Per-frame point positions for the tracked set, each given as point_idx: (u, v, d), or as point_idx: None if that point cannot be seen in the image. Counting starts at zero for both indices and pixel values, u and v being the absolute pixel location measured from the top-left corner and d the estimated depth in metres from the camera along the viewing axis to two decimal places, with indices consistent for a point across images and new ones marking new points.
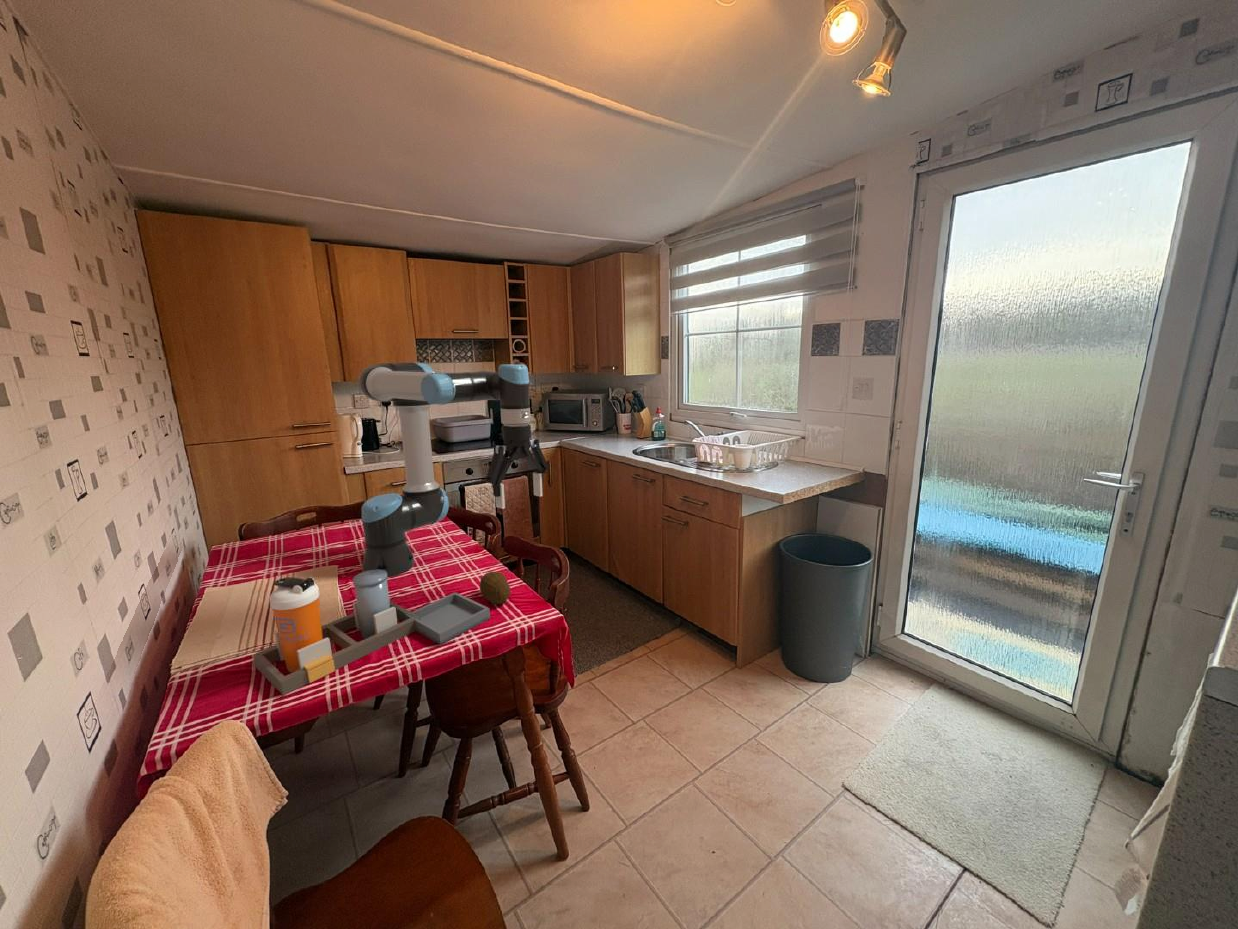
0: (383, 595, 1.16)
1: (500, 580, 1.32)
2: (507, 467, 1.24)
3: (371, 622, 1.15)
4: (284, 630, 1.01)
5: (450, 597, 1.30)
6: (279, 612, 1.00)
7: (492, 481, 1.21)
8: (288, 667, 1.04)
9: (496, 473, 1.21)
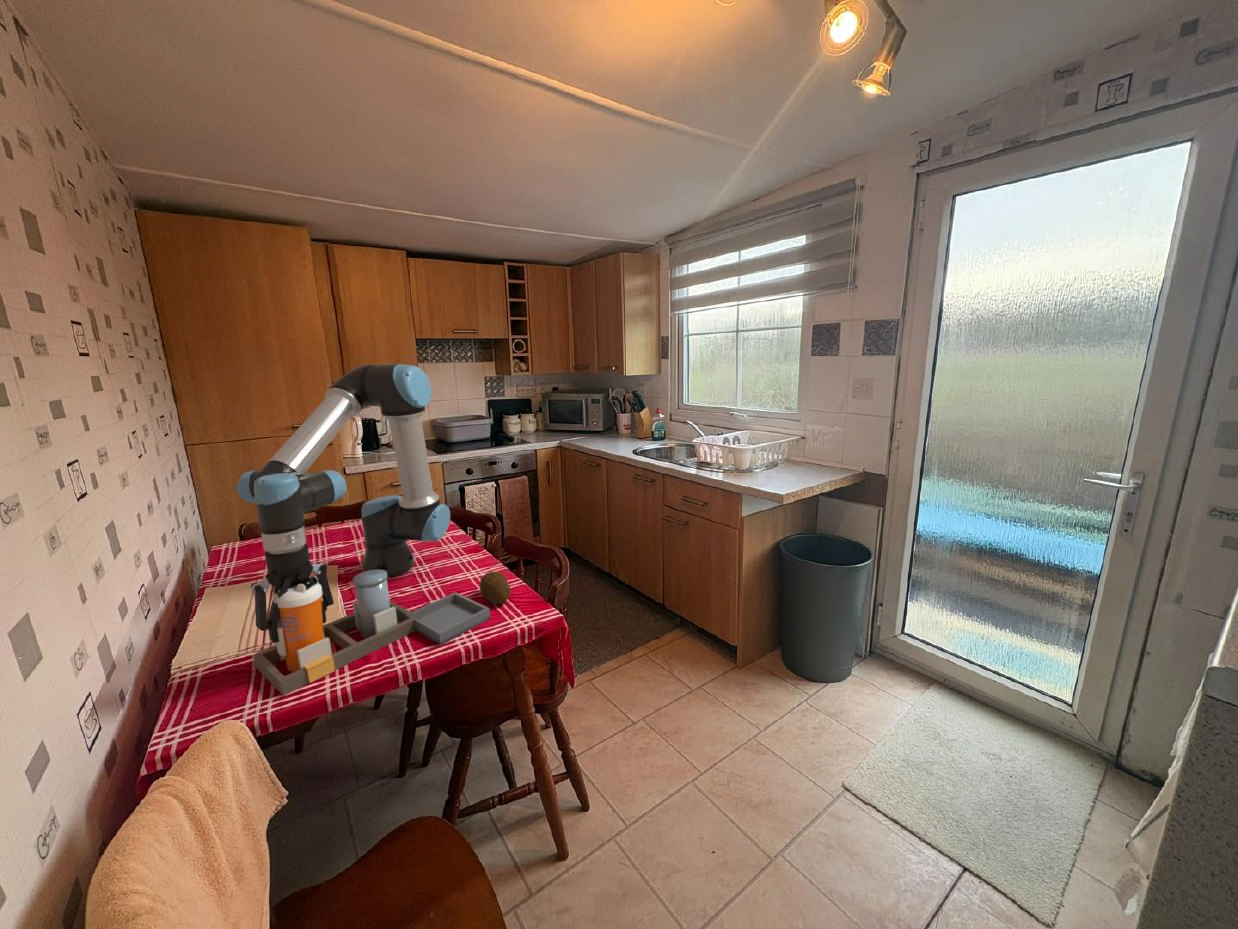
0: (383, 595, 1.16)
1: (500, 580, 1.32)
2: None
3: (371, 622, 1.15)
4: (286, 628, 1.01)
5: (450, 597, 1.30)
6: (282, 610, 1.00)
7: (261, 628, 0.98)
8: (288, 666, 1.04)
9: (264, 617, 0.98)
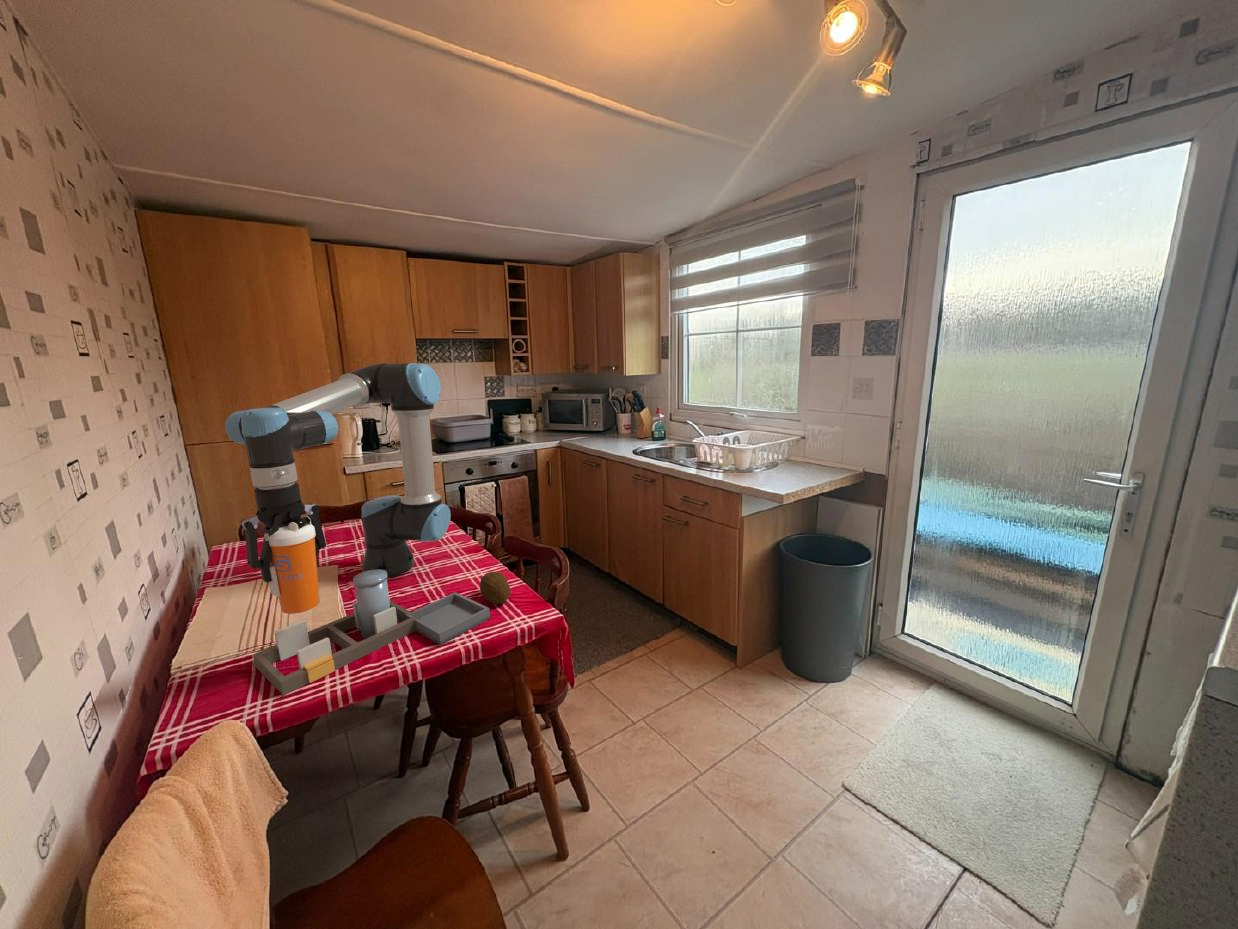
0: (383, 595, 1.16)
1: (500, 580, 1.32)
2: None
3: (371, 622, 1.15)
4: (279, 568, 0.98)
5: (450, 597, 1.30)
6: (274, 548, 0.97)
7: (253, 566, 0.95)
8: (282, 607, 1.01)
9: (255, 555, 0.95)
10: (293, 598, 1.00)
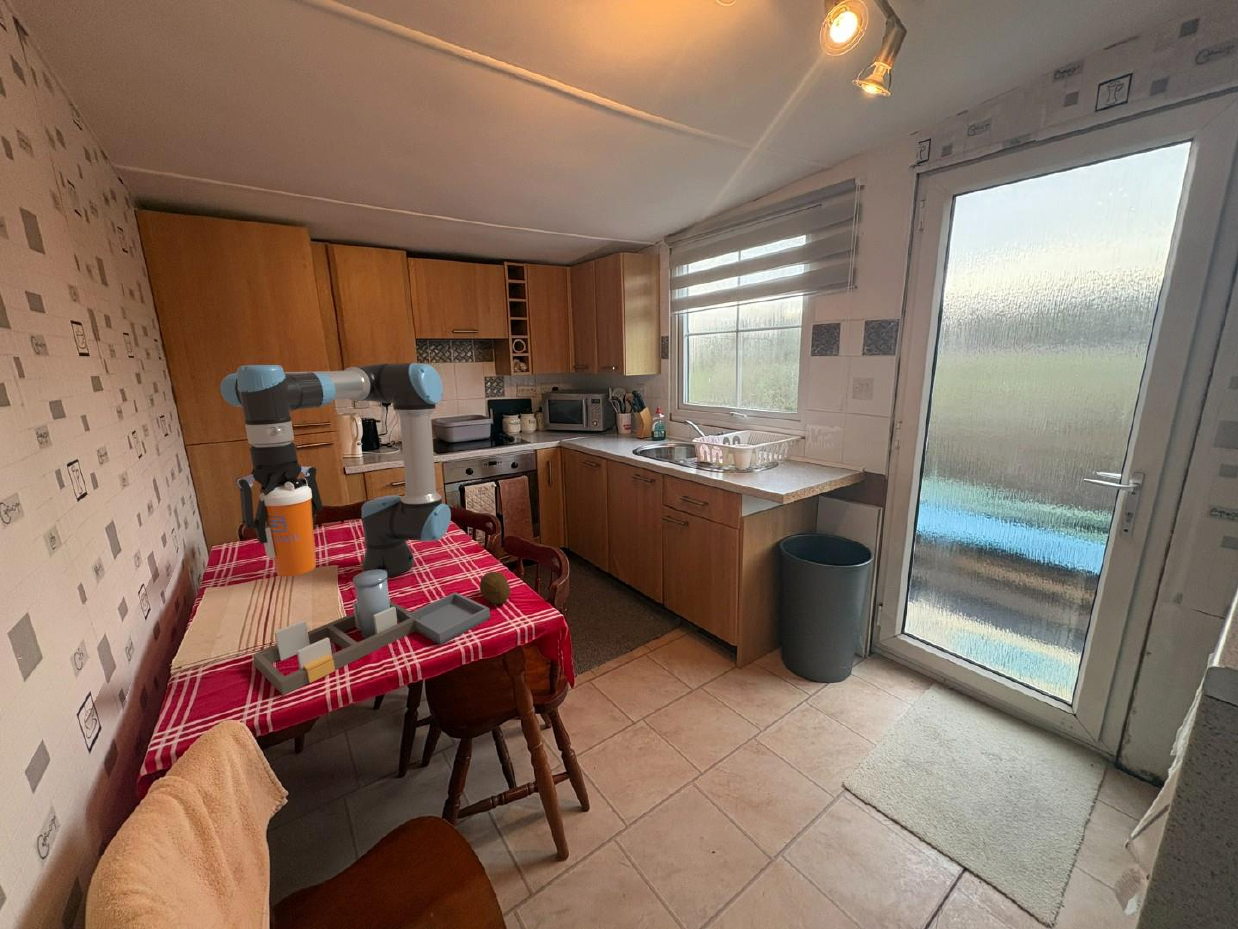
0: (383, 595, 1.16)
1: (500, 580, 1.32)
2: None
3: (371, 622, 1.15)
4: (274, 529, 0.97)
5: (450, 597, 1.30)
6: (269, 508, 0.96)
7: (248, 525, 0.94)
8: (277, 570, 0.99)
9: (250, 514, 0.94)
10: (289, 561, 0.99)
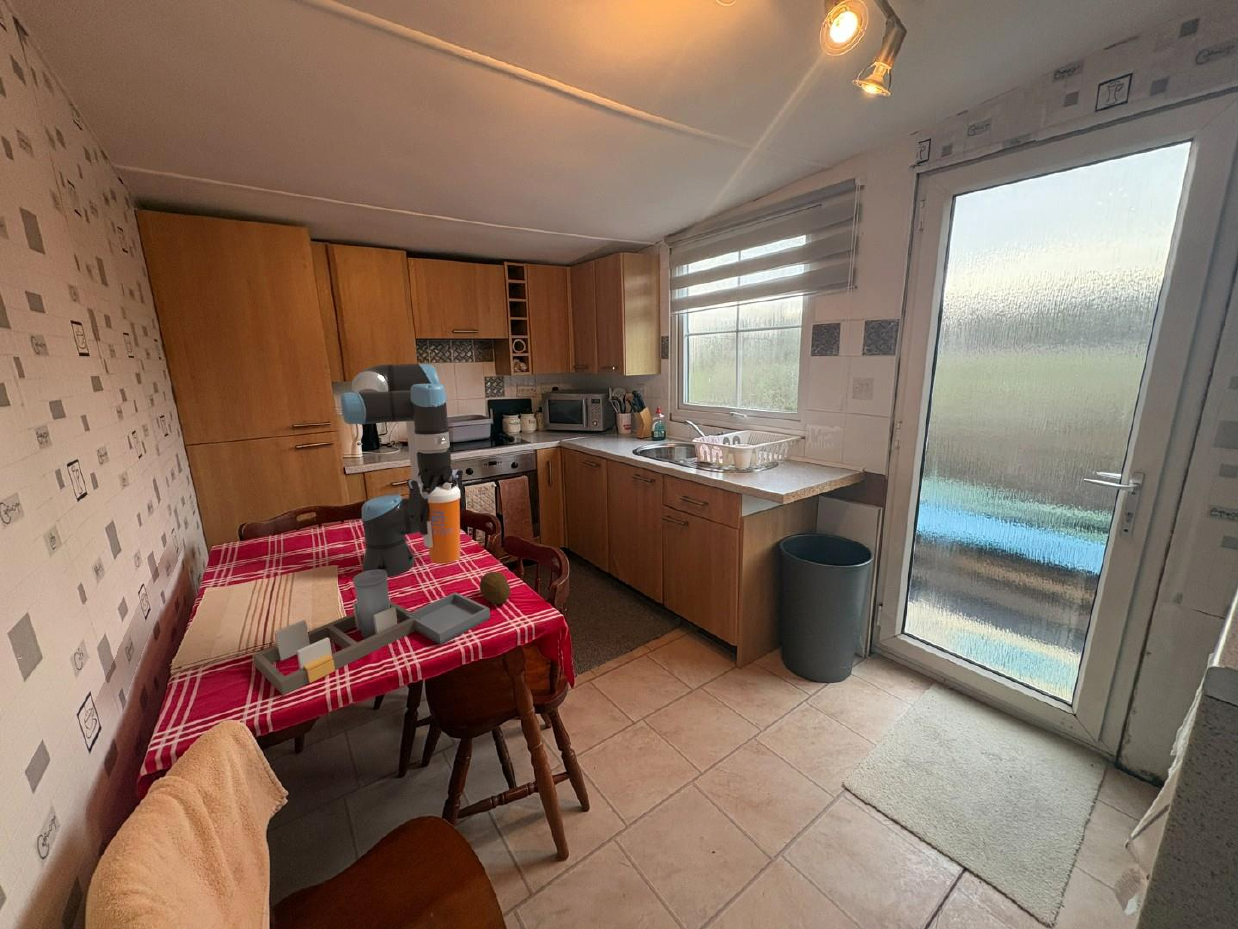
0: (383, 595, 1.16)
1: (500, 580, 1.32)
2: None
3: (371, 622, 1.15)
4: (434, 522, 1.14)
5: (450, 597, 1.30)
6: (431, 505, 1.13)
7: (416, 519, 1.11)
8: (433, 558, 1.16)
9: (418, 510, 1.11)
10: (444, 550, 1.16)
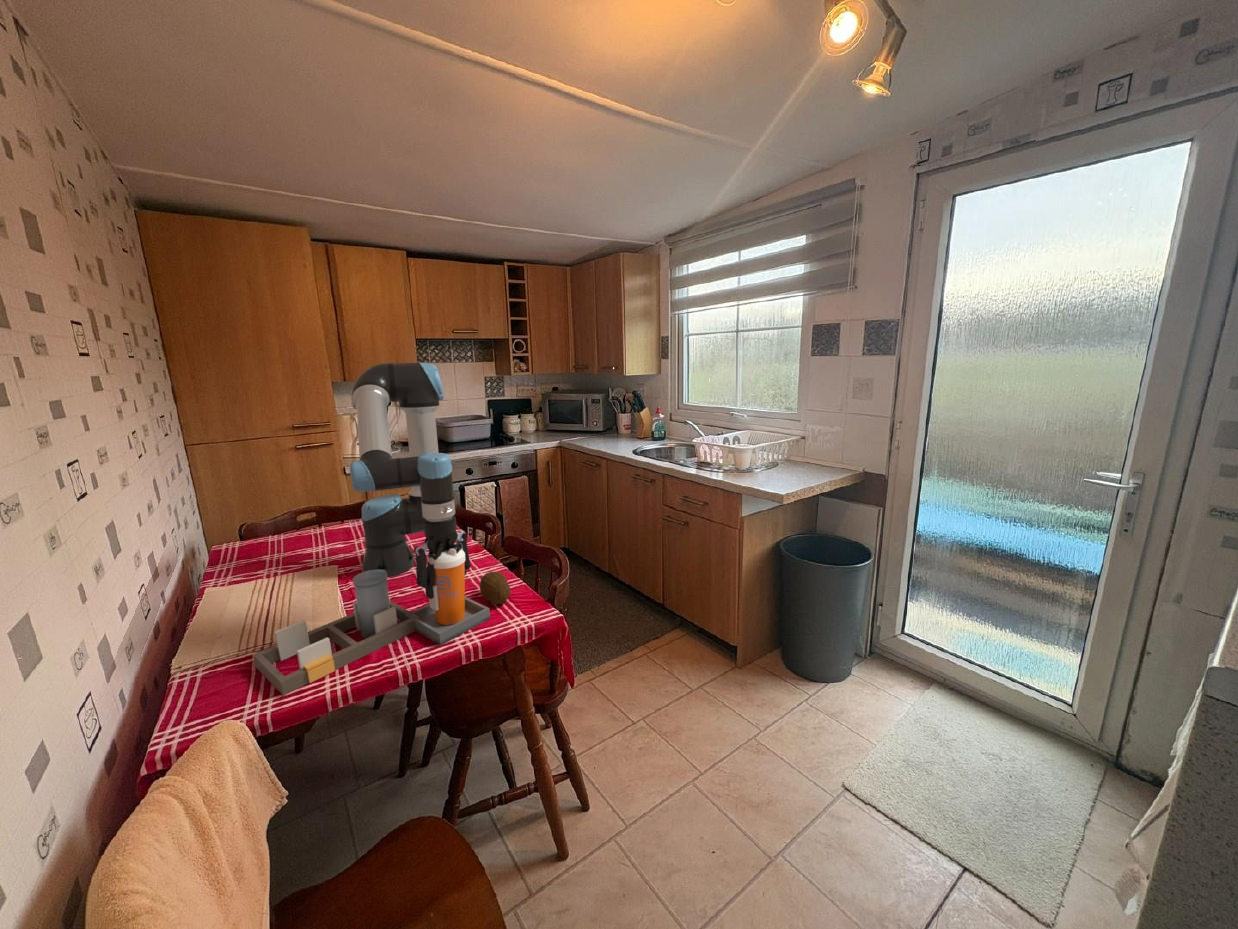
0: (383, 596, 1.16)
1: (500, 580, 1.32)
2: None
3: (371, 622, 1.15)
4: (440, 587, 1.17)
5: None
6: (437, 570, 1.16)
7: (423, 585, 1.14)
8: (439, 620, 1.20)
9: (425, 576, 1.14)
10: (449, 612, 1.19)
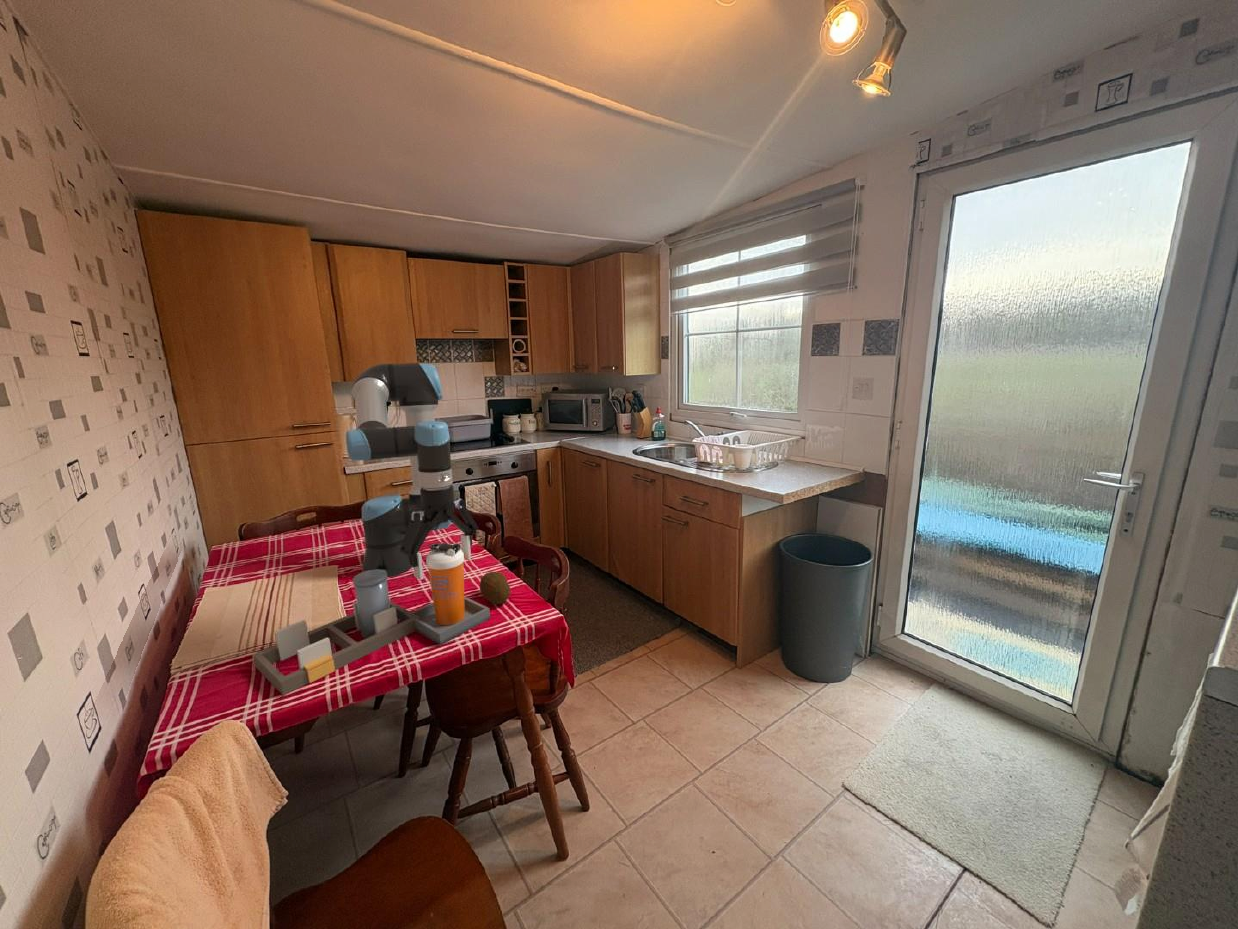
0: (383, 596, 1.16)
1: (500, 580, 1.32)
2: (425, 534, 1.13)
3: (371, 622, 1.15)
4: (439, 587, 1.17)
5: None
6: (436, 571, 1.16)
7: (406, 552, 1.10)
8: (439, 620, 1.20)
9: (411, 543, 1.11)
10: (449, 613, 1.19)
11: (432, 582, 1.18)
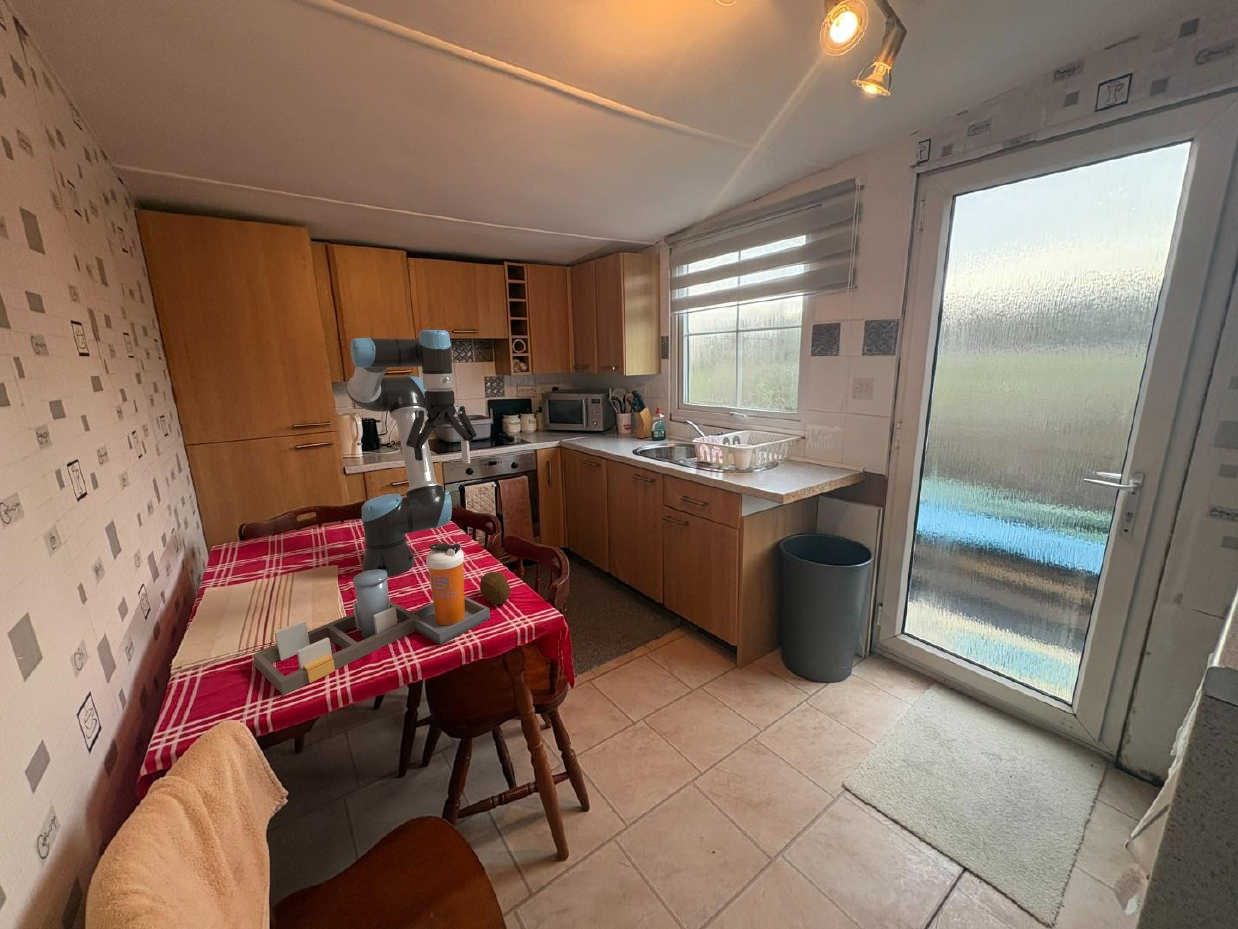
0: (383, 595, 1.16)
1: (500, 580, 1.32)
2: (429, 432, 1.26)
3: (371, 622, 1.15)
4: (439, 587, 1.17)
5: None
6: (436, 571, 1.16)
7: (412, 444, 1.22)
8: (439, 620, 1.20)
9: (416, 437, 1.23)
10: (449, 613, 1.19)
11: (432, 582, 1.18)
